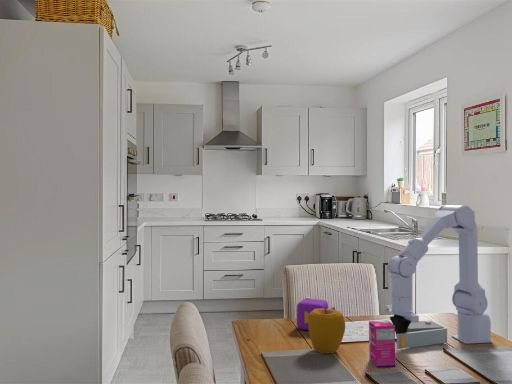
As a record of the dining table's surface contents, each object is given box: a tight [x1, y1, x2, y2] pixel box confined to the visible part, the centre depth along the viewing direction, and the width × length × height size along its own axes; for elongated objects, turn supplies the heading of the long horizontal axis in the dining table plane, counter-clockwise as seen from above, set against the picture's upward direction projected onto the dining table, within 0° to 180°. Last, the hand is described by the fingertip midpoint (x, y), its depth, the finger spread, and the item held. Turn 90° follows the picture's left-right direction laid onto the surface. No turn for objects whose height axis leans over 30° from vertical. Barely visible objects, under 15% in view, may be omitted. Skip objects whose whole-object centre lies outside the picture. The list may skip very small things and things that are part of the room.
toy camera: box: [296, 296, 336, 331], centre depth 169 cm, size 11×14×10 cm
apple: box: [308, 308, 346, 355], centre depth 145 cm, size 11×11×13 cm
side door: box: [396, 327, 448, 350], centre depth 149 cm, size 18×1×4 cm, turn 110°
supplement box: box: [368, 319, 397, 369], centre depth 134 cm, size 6×6×12 cm
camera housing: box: [406, 320, 445, 333], centre depth 156 cm, size 13×8×6 cm, turn 99°
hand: (400, 340), depth 148 cm, fingers closed
